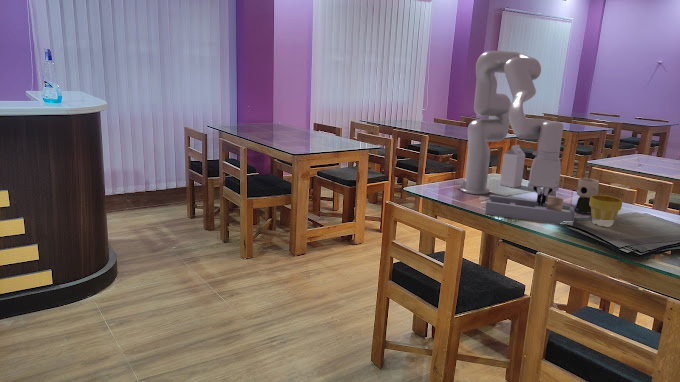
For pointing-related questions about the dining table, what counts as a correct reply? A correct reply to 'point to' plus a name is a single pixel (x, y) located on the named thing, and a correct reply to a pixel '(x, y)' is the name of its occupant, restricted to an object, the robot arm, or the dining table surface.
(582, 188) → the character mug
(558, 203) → the maple block
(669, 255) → the dining table surface
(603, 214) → the plant pot
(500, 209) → the grey tray
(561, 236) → the dining table surface
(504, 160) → the milk carton
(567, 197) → the dining table surface
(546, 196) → the salt shaker
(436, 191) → the dining table surface
